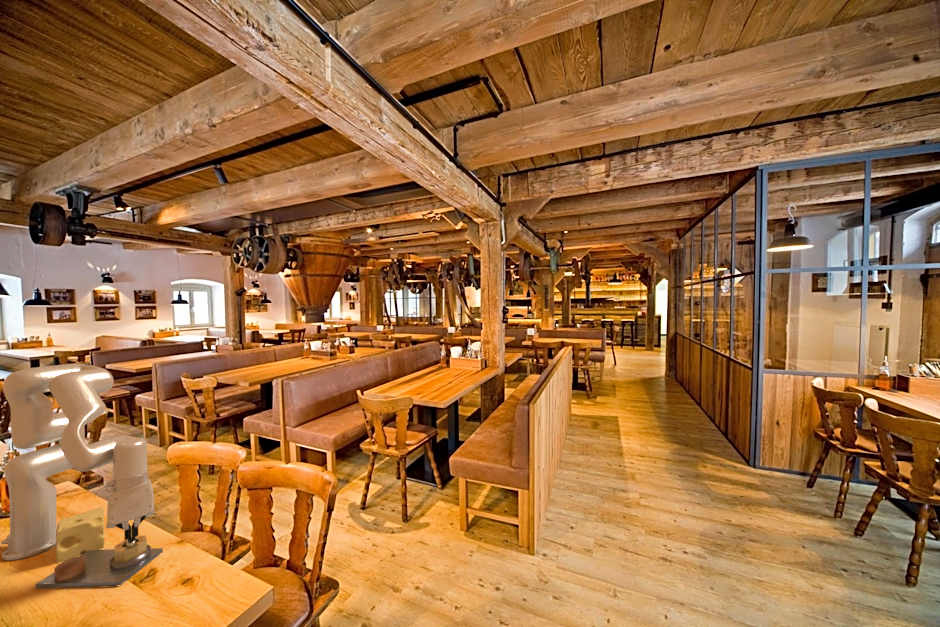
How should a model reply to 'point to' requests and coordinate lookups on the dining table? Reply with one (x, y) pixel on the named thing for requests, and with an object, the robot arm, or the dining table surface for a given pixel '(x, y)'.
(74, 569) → the brown rounded dome
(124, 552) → the collar
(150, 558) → the plate
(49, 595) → the dining table surface
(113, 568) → the hub
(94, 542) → the cheese
